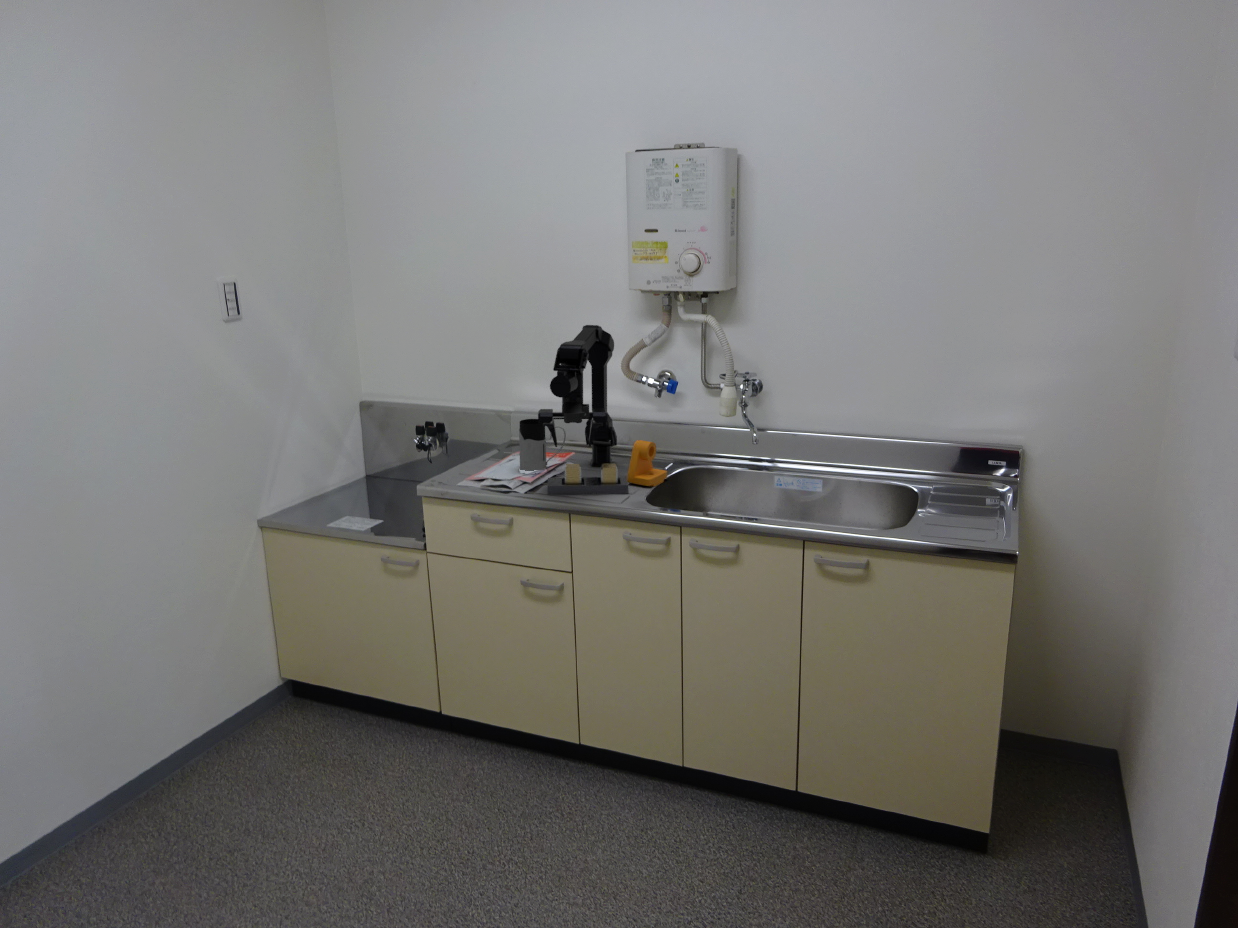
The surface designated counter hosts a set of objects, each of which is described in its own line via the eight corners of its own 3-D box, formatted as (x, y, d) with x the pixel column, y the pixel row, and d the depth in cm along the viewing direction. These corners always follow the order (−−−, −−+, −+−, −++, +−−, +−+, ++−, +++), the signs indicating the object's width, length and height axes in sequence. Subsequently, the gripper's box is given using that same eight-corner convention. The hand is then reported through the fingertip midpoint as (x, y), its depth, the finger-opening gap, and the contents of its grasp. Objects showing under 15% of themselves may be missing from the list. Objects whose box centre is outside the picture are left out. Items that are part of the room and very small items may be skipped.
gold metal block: (564, 488, 244) (564, 463, 242) (580, 487, 245) (580, 463, 243) (564, 492, 240) (564, 468, 238) (581, 492, 240) (581, 468, 238)
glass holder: (521, 466, 265) (520, 418, 261) (567, 467, 265) (567, 419, 261) (516, 474, 257) (514, 424, 253) (564, 475, 256) (563, 425, 252)
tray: (548, 486, 246) (547, 477, 245) (626, 485, 247) (626, 476, 246) (547, 494, 238) (547, 486, 237) (628, 493, 239) (628, 485, 239)
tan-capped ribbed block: (600, 487, 245) (600, 463, 243) (616, 487, 245) (616, 463, 243) (601, 492, 241) (601, 468, 239) (617, 492, 241) (617, 467, 239)
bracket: (649, 489, 244) (650, 447, 241) (627, 484, 248) (627, 444, 245) (668, 479, 253) (669, 439, 250) (646, 476, 257) (647, 436, 253)
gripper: (537, 396, 227) (538, 454, 231) (608, 396, 228) (608, 453, 232) (538, 388, 238) (539, 444, 242) (606, 388, 239) (606, 443, 243)
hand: (573, 446), depth 239 cm, fingers open, 9 cm apart
